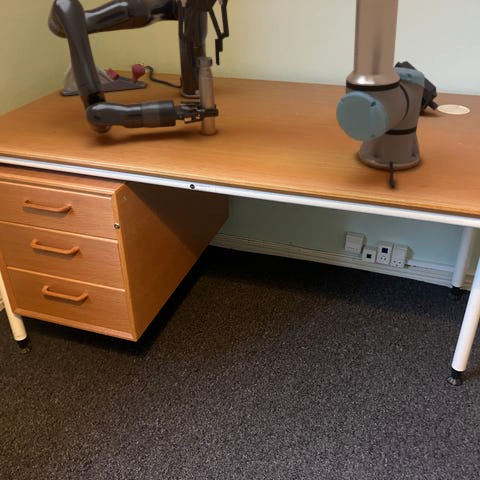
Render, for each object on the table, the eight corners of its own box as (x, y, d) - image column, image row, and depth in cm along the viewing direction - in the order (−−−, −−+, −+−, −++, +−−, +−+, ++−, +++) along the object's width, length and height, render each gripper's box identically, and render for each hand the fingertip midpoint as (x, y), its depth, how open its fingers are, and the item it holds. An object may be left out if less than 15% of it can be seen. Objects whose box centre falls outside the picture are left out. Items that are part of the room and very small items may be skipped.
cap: (194, 65, 148) (194, 58, 147) (206, 62, 150) (206, 55, 149) (203, 68, 145) (203, 61, 144) (215, 65, 148) (215, 58, 147)
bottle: (210, 128, 161) (206, 57, 150) (218, 132, 158) (215, 60, 147) (198, 131, 159) (194, 60, 148) (207, 135, 156) (203, 62, 145)
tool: (376, 92, 179) (403, 55, 168) (419, 129, 175) (449, 94, 164) (367, 96, 175) (394, 59, 164) (411, 135, 171) (441, 99, 160)
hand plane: (62, 90, 197) (53, 48, 189) (145, 82, 205) (140, 41, 197) (62, 96, 191) (54, 53, 184) (148, 87, 199) (143, 45, 191)
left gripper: (157, 109, 145) (220, 104, 147) (155, 94, 157) (213, 90, 159) (160, 135, 149) (221, 130, 151) (158, 118, 161) (214, 114, 163)
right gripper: (235, -31, 140) (237, 59, 152) (161, -28, 138) (169, 63, 150) (240, -28, 134) (241, 66, 146) (163, -25, 131) (171, 70, 143)
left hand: (216, 109), depth 155 cm, fingers closed on bottle, 4 cm apart
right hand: (205, 64), depth 148 cm, fingers open, 6 cm apart
